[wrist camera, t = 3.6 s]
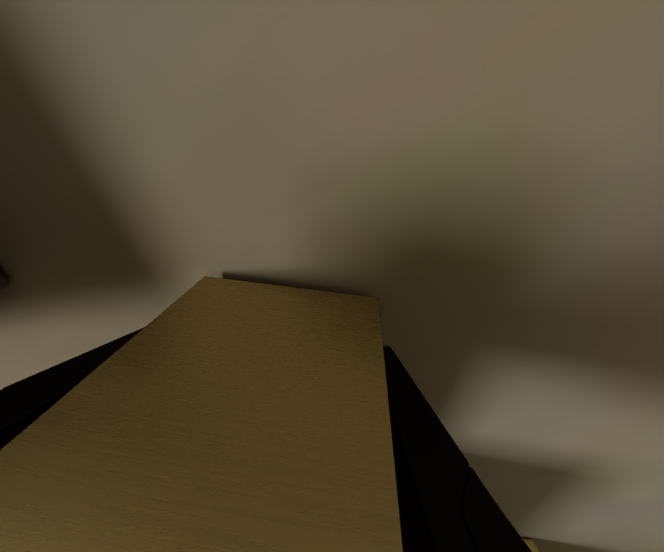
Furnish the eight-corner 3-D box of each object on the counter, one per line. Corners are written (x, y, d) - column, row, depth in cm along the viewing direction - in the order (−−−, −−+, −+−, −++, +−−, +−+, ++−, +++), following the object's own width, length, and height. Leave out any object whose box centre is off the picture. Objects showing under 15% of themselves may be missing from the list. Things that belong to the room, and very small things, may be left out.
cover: (342, 475, 14) (327, 708, 8) (242, 458, 15) (161, 669, 9) (378, 297, 8) (416, 698, 2) (204, 276, 8) (-146, 573, 3)
